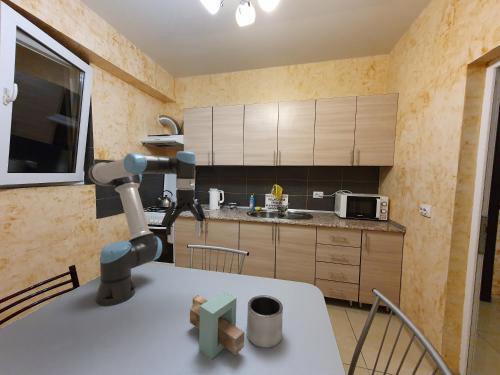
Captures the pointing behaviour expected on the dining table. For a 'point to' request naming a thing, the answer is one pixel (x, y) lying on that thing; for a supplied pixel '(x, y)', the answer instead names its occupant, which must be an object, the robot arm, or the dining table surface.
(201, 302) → the rail
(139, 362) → the dining table surface
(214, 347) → the green rectangular frame
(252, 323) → the planter
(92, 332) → the dining table surface
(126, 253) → the robot arm
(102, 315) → the dining table surface
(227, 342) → the brown wooden long bar
